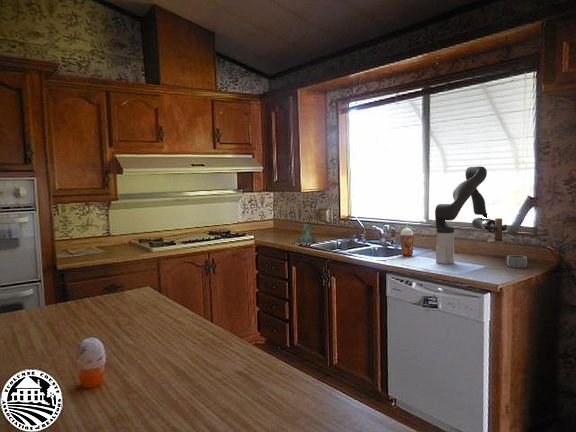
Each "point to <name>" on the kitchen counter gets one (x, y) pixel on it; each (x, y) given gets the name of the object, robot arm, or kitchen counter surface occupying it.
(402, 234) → the smoothie
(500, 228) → the wooden post stand
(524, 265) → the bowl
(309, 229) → the tree stump
